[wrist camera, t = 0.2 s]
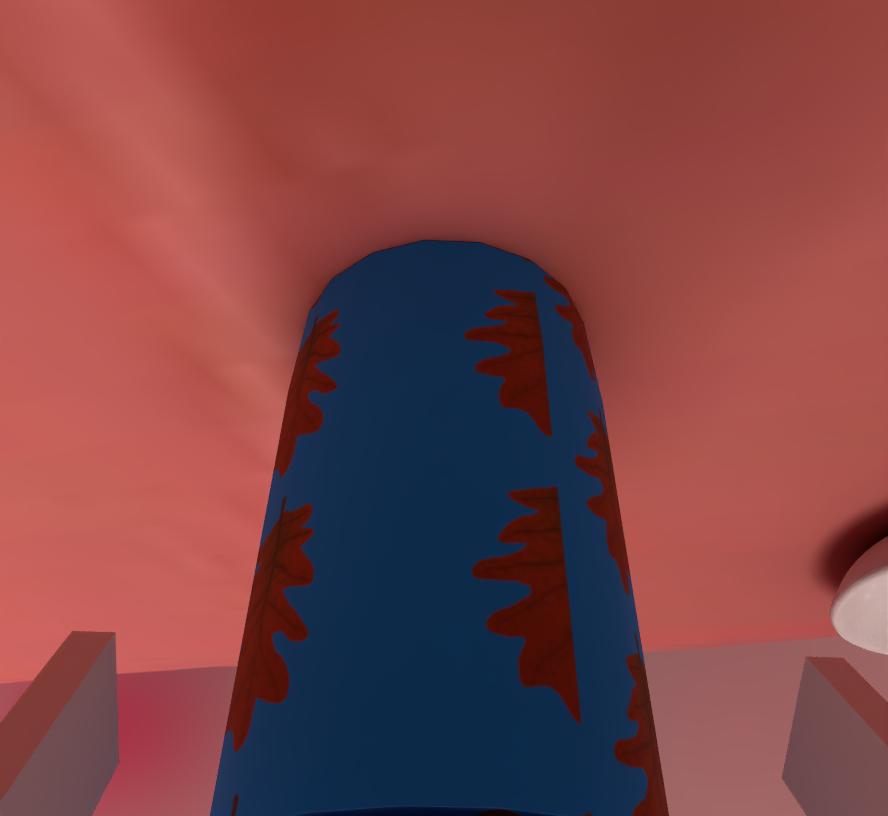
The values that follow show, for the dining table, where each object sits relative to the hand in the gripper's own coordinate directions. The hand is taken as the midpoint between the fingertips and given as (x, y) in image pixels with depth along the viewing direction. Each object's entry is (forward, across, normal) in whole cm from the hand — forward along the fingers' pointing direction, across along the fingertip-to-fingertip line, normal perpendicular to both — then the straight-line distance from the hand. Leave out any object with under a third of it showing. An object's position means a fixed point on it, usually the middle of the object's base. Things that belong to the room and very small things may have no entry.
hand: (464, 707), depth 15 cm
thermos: (+16, 0, +4) cm, 17 cm away
